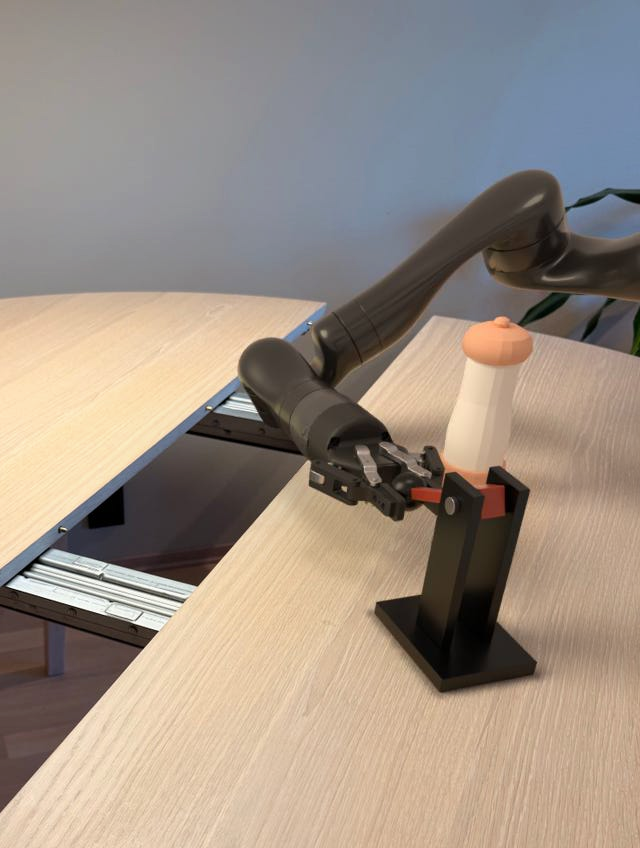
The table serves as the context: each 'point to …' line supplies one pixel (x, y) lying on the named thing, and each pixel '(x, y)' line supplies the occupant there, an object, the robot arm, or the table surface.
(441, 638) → the bracket
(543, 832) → the table surface
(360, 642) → the table surface
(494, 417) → the salt shaker
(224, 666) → the table surface
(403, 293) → the robot arm
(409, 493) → the lever
